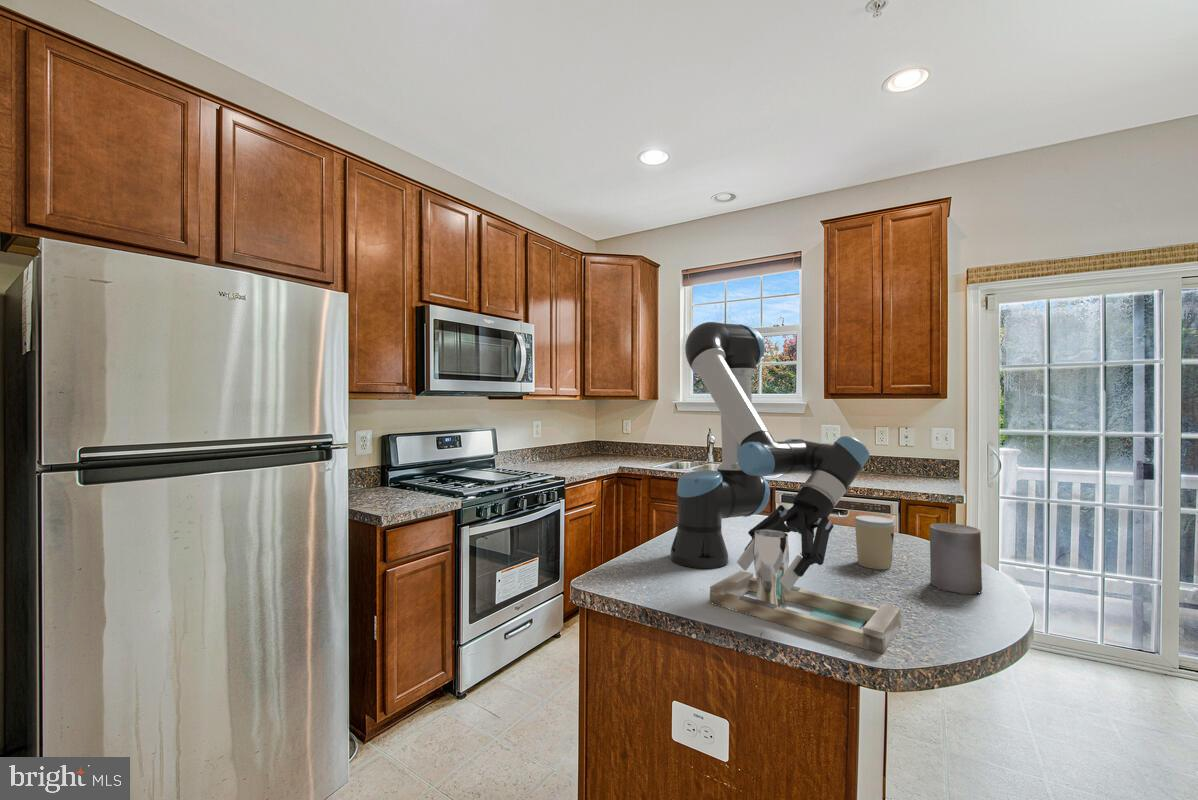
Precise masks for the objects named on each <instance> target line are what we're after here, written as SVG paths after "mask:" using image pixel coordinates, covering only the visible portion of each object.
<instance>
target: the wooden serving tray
mask: <svg viewBox="0 0 1198 800" xmlns="http://www.w3.org/2000/svg"><path fill="white" fill-rule="evenodd" d="M748 591H749V592H752V591H754V592H753V593H756V592H757V579H756V577H754V572H749V571H748V572H747V571H745V570H738V571H737V572H735V573H733V574H731V575H729V576H728V577H725V578H723V579H722V580H720V581H718V582H716V583H714V584H713V585H711V586H710V587H709V604H710V603H713V604H716V605H715V606H717V605H719V606H718V607H720V606H723V607H722V608H724V607H726V608H725V609H727V608H730V609H733V610H732V611H734V610H737V611H740V612H739V613H741V612H743V613H742V614H744V613H747V614H751V615H753V616H752V617H754V616H757V617H756V618H758V617H760V618H759V619H761V618H763V619H762V620H765V619H767V620H766V621H768V620H770V621H769V622H771V621H773V622H772V623H775V622H776V623H775V624H778V623H779V624H780V625H783V626H786V627H789V628H792V629H796V630H800V631H802V632H806V633H809V634H814V635H817V636H819V637H823V638H827V639H830V640H834V641H837V642H840V643H844V644H847V645H850V646H854V647H858V648H861V649H865V650H868V651H871V652H874V653H878V654H881V653H882V654H881V655H884V654H885V652H886V651H887V649H888V647H889V646H888V645H890V644H891V642H892V641H893V640H894V638H895V636H896V635H895V634H897V633H898V632H897V631H899V630H900V628H901V625H902V623H901V620H902V618H901V617H902V616H901V615H902V613H901V610H902V609H901V607H898V606H894V605H890V604H886V603H882V604H881V605H880V606H879V607H876V606H873V605H868V604H864V603H860V602H856V601H851V600H847V599H842V598H839V597H835V596H830V595H826V594H823V593H822V594H821V593H817V592H813V591H810V590H805V589H801V587H800V586H795V585H793V587H792V588H791V590H790V591H787V590H786V589H784V595H785V601H788V602H791V601H792V602H791V603H795V604H800V605H802V604H803V605H802V606H806V607H810V608H815V609H814V610H813V611H812V612H811V613H809V614H806V613H803V612H799V611H795V610H791V609H787V608H786V609H785V608H781V607H777V605H776V604H772V603H768V602H765V601H761V600H757V599H756V598H753V597H750V596H745V593H746V592H747V593H749V592H748ZM747 593H746V594H747ZM743 594H744V595H743ZM740 596H741V597H740ZM713 604H712V605H713ZM730 609H729V610H730ZM737 611H736V612H737ZM747 614H746V615H747ZM751 615H750V616H751ZM865 623H866V624H865ZM864 624H865V625H864ZM863 625H864V626H863ZM862 626H863V628H862ZM893 637H894V638H893ZM891 640H892V641H891ZM889 643H890V644H889ZM887 646H888V647H887ZM886 648H887V649H886ZM884 651H885V652H884Z"/></svg>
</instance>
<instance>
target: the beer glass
mask: <svg viewBox="0 0 1198 800" xmlns="http://www.w3.org/2000/svg"><path fill="white" fill-rule="evenodd" d="M788 534H789V533H787V532H782V531H777V530H757V531H755V532H754V545H753V559H754V560H753V565H754V571H755V578H756V579H757V593H756V595H755V599H757V600H761V601H765V602H768V603H772V604H776V605H777V607H781V608H785V609H787V602H786V601H787V600H785V595H784V589H785V588H784V587H783V586H782V584H781V583H780V582H779V580H780V579H781V577H782V576H783V575H784V573H785V572H786V570H787V569H788V568H789V563H790V562H789V561H790V560H789V559H790V552H789V551H790V548H789V547H790V546H789V535H788Z"/></svg>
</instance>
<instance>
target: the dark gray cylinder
mask: <svg viewBox="0 0 1198 800" xmlns="http://www.w3.org/2000/svg"><path fill="white" fill-rule="evenodd" d="M981 533H982V532H981V530H980V529H979V528H976V527H974V526H969V525H964V524H959V523H958V524H957V522H956V521H955V522H954V523H948V522H947V523H946V522H942V523H941V522H940V523H938V522H936V523H931V524H930V525H929V549H930V550H929V552H930V553H929V554H930V555H929V557H930V558H929V559H930V561H929V563H930V564H929V565H930V585H932V586H933V587H934V586H935V587H934V588H936V587H937V588H936V589H939V590H941V589H942V590H941V591H945V592H951V593H956V594H959V593H960V595H968V594H971V595H977V594H976V593H978V594H980V593H979V592H981V593H982V591H983V577H982V539H981V538H982V537H981Z"/></svg>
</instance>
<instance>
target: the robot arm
mask: <svg viewBox="0 0 1198 800" xmlns="http://www.w3.org/2000/svg"><path fill="white" fill-rule="evenodd" d="M764 342H765V341H764V339H763V336H762V335H761V333H760V332H759V331H758V330H757V329H756V328H754V327H752V326H748V325H745V324H741V323H740V324H735V323H723V322H715V321H708V322H702V323H700V324H698V325H697V326H695V327H694V328H693V329H692V330H691V331H690V333H689V335H688V336H687V338H686V341H685V346H684V347H685V348H684V349H685V353H684V354H685V358H686V360H687V362H688V365H689V367H690V369H691V370H692V372H693V373H694V374H695V375H699V377H700V379H701V380H702V382H703V385H704V386H705V387H706V389H707V391H708V392H709V394H710V396H711V399H713V402H714V403H715V404H716V407H717V408H718V411H719V412H720V425H721V427H720V430H721V459H722V462H720V464H719V465H718V466H716V470H712V469H710V470H707V469H706V470H694V471H689V472H686V473H683V474H682V475H680V476H679V478H678V480H677V489H676V495H677V502H676V503H677V507H676V508H677V511H676V512H677V520H676V521H677V522H676V525H677V527H676V528H677V529H676V533H675V536H674V539H673V540H672V541H673V542H672V544H671V548H670V560H671V561H672V562H673V563H675V564H676V565H680V566H683V567H687V568H696V569H715V568H716V569H717V568H721V566H722V567H725V566H726V565H728V563H729V553H728V549H727V546H726V543H725V542H726V541H725V540H724V536H723V532H722V524H723V523H722V519H730V518H740V517H745V518H747V517H751V516H753V515H758V514H760V513H761V512H763V511H764V510H765V508H766V507H767V505H768V504H769V502H770V496H771V489H770V484H769V482H768V481H767V479H766V476H771V475H772V476H773V475H788V474H803V473H804V474H810V475H809V477H808V478H807V480H806V481H805V482H804V484H803V486H802V487H801V488H800V490H798V492H797V494H796V495H795V496H794V497H793V505H792V506H791V507H790V508H788V509H787V508H785V507H784V505H782V504H780V505H779V506H778V507H776V509H775V510H774V511H773V512H772V513H771V514H769V515H768V516H767V517H765V518H764V519H763V520H761V521H760V522H759V523H757V524H756V525H755V526H754V527H753V528H751V529H750V530H748V535H749V536H750V537H751V540H750V541H749V542H748V544H747V545H746V546H745V548H744V551H743V552H742V553H741V555H740V556H739V557H738V559H737V560H736V564H738V566H740V568H741V569H742V571H745V572H747V570H748V569H749V567H750V566H751V564H752V563H754V559H753V545H754V532H755V531H757V530H777V531H782V532H785V533H787V534H789V533H791V532H793V533H798V534H800V537H801V539H800V541H801V552H799V555H798V554H797V555H796V556H795V557H794V559H793V561H792V562H791V564H790V565H788V569H787V570H786V572H785V573H784V575H783V576H782V577H781V579H780V580H779V582H780V583H781V584H782V586H783V587H784V588H785V589H786V590H787V591H790V590H791V588H792V587H793V586H795V584H796V583H797V581H798V580H799V578H801V577H803V576H804V575H805V573H806V571H807V570H809V568H810V566H812V565H814V564H817V565H819V566H822V565H823V564H824V562H825V561H824V560H825V557H826V553H827V548H828V547H827V546H828V541H829V538H830V534H831V531H832V530H833V528H834V524H833V523H832V521H831V520H830V519H829V517H830V515H831V514H832V512H833V510H834V509H835V508H834V507H835V506H837V504H838V503H839V502H840V500H842V497H843V496H844V495H845V493H846V492H847V491H848V488H849V487H850V486H851V485H852V483H853V482H854V480H855V479H856V478H857V477H858V475H859V474H860V473H861V472H862V471H863V469H864V467H865V465H866V463H867V462H868V460H869V458H870V451H869V450H868V448H867V446H866V445H865V444H864V443H863V442H862V441H860V440H859V439H858V438H855V437H853V436H848V435H844V436H839V437H838V438H837V439H836V440H835V441H833V444H828V443H821V442H813V441H809V440H804V439H801V438H800V439H799V438H788V439H786V440H784V441H776V440H775V438H774V437H773V436H772V434H771V432H770V431H769V430H768V428H767V426H766V424H765V423H764V422H763V419H762V418H761V416H760V415H759V414H758V411H757V409H755V407H754V405H753V402H752V376H753V375H754V374H755V373H756V371H757V365H759V364H760V363H761V361H763V360H762V358H763V357H764V356H765V355H764V354H765V343H764ZM815 529H816V530H815ZM724 565H725V566H724Z"/></svg>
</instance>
